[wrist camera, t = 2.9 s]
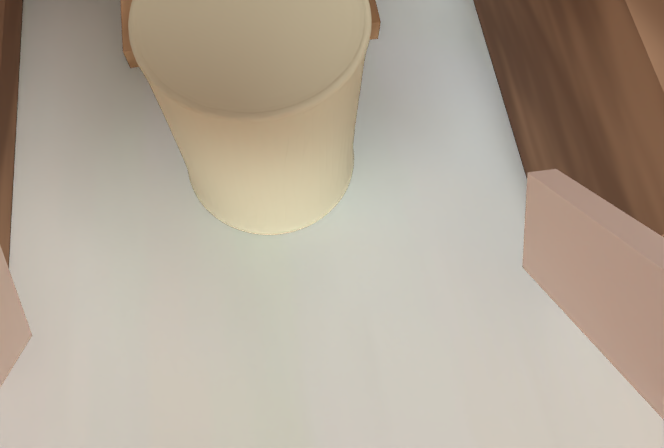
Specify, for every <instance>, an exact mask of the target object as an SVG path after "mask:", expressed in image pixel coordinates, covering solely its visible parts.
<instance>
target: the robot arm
mask: <svg viewBox="0 0 664 448" xmlns="http://www.w3.org/2000/svg"><path fill="white" fill-rule="evenodd" d="M522 267H523V268H524V269H525V270H526V271H527V273H528V274H529V275H530V276H531V277H532V278H533V279H534V280H535V281H536V282H537V283H538V284H539V286H540V287H541V288H542V289H543V290H544V291H545V292H546V293H547V294H548V295H549V296H550V297H551V299H552V300H553V301H554V302H555V303H556V304H557V305H558V306H559V307H560V308H561V309H562V310H563V311H564V313H565V314H566V315H567V316H568V317H569V318H570V319H571V320H572V321H573V322H574V323H575V324H576V326H577V327H578V328H579V329H580V330H581V331H582V332H583V333H584V334H585V335H586V336H587V337H588V339H589V340H590V341H591V342H592V343H593V344H594V345H595V346H596V347H597V348H598V349H599V350H600V352H601V353H602V354H603V355H604V356H605V357H606V358H607V359H608V360H609V361H610V362H611V363H612V364H613V366H614V367H615V368H616V369H617V370H618V371H619V372H620V373H621V374H622V375H623V376H624V377H625V379H626V380H627V381H628V382H629V383H630V384H631V385H632V386H633V387H634V388H635V389H636V390H637V392H638V393H639V394H640V395H641V396H642V397H643V398H644V399H645V400H646V401H647V402H648V403H649V404H650V406H651V407H652V408H653V409H654V410H655V411H656V412H657V413H658V414H659V415H660V416H661V417H662V419H663V420H664V237H662V236H661V235H659V234H658V233H656V232H654V231H653V230H651V229H650V228H648V227H647V226H645V225H643V224H642V223H640V222H639V221H637V220H636V219H634V218H632V217H631V216H629V215H628V214H626V213H625V212H623V211H621V210H620V209H618V208H617V207H615V206H614V205H612V204H611V203H609V202H607V201H606V200H604V199H603V198H601V197H600V196H598V195H596V194H595V193H593V192H592V191H590V190H589V189H587V188H585V187H584V186H582V185H581V184H579V183H578V182H576V181H574V180H573V179H571V178H570V177H568V176H567V175H565V174H563V173H562V172H560V171H559V170H557V169H551V170H543V171H535V172H528V174H527V192H526V211H525V229H524V248H523V266H522ZM31 336H32V333H31V331H30V328H29V325H28V322H27V319H26V316H25V314H24V311H23V308H22V305H21V302H20V299H19V297H18V294H17V291H16V288H15V285H14V282H13V280H12V277H11V274H10V271H9V268H8V265H7V263H6V260H5V257H4V254H3V251H2V248H1V246H0V387H1V385H2V384H3V382H4V381H5V379H6V377H7V376H8V374H9V372H10V371H11V369H12V368H13V366H14V364H15V363H16V361H17V359H18V358H19V356H20V354H21V353H22V351H23V350H24V348H25V346H26V345H27V343H28V341H29V340H30V338H31Z"/></svg>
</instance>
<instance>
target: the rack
mask: <svg viewBox="0 0 664 448" xmlns="http://www.w3.org/2000/svg"><path fill="white" fill-rule="evenodd" d="M474 4H475V7H476V10H477V14H478V17H479V20H480V24H481V27H482V30H483V34H484V37H485V40H486V44H487V47H488V50H489V54H490V57H491V60H492V64H493V67H494V70H495V74H496V77H497V80H498V84H499V87H500V90H501V93H502V97H503V100H504V103H505V107H506V110H507V113H508V117H509V120H510V123H511V127H512V130H513V133H514V137H515V140H516V143H517V147H518V150H519V153H520V157H521V160H522V163H523V167H524V170H525V173H526V177H527V174H528V172H535V171H543V170H551V169H557V170H559V171H560V172H562V173H563V174H565V175H567V176H568V177H570V178H571V179H573V180H574V181H576V182H578V183H579V184H581V185H582V186H584V187H585V188H587V189H589V190H590V191H592V192H593V193H595V194H596V195H598V196H600V197H601V198H603V199H604V200H606V201H607V202H609V203H611V204H612V205H614V206H615V207H617V208H618V209H620V210H621V211H623V212H625V213H626V214H628V215H629V216H631V217H632V218H634V219H636V220H637V221H639V222H640V223H642V224H643V225H645V226H647V227H648V228H650V229H651V230H653V231H654V232H656V233H658V234H659V235H661V236H662V237H664V0H474ZM22 6H23V0H0V246H1V248H2V251H3V254H4V257H5V260H6V263H7V265H9V247H10V228H11V210H12V191H13V173H14V154H15V136H16V117H17V99H18V80H19V62H20V43H21V25H22Z"/></svg>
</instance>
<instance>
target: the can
mask: <svg viewBox="0 0 664 448" xmlns="http://www.w3.org/2000/svg"><path fill="white" fill-rule="evenodd" d="M371 25H372V19H371V9H370V4H369V0H132V3H131V7H130V12H129V20H128V30H129V40H130V45H131V48H132V51H133V54H134V57H135V59H136V62H137V64H138V66H139V67H140V69H141V71H142V72H143V74H144V75H145V77H146V78H147V80H148V82H149V84H150V86H151V88H152V91H153V93H154V95H155V97H156V99H157V101H158V103H159V106H160V108H161V110H162V112H163V114H164V116H165V118H166V121H167V123H168V125H169V127H170V129H171V132H172V134H173V136H174V138H175V141H176V143H177V145H178V147H179V150H180V152H181V154H182V156H183V159H184V161H185V163H186V166H187V169H188V174H189V179H190V182H191V185H192V188H193V190H194V192H195V194H196V196H197V197H198V199H199V200H200V202H201V203H202V205H203V206H204V207H205V208H206V209H207V210H208V211H209V212H210V213H211V214H212V215H213V216H215V217H216V218H217V219H219V220H220V221H222V222H223V223H225V224H227V225H229V226H230V227H233V228H235V229H238V230H241V231H244V232H248V233H253V234H261V235H277V234H285V233H290V232H294V231H297V230H300V229H303V228H305V227H308V226H309V225H311V224H313V223H315V222H317V221H318V220H320V219H321V218H323V217H324V216H325V215H327V214H328V213H329V212H330V211H331V210H332V209H333V208H334V207H335V206H336V205H337V203H338V202H339V201H340V200H341V198H342V197H343V195H344V193H345V192H346V190H347V187H348V185H349V183H350V180H351V176H352V172H353V166H354V152H353V140H354V131H355V123H356V116H357V108H358V101H359V94H360V87H361V80H362V73H363V66H364V60H365V55H366V50H367V47H368V44H369V40H370V35H371Z"/></svg>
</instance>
